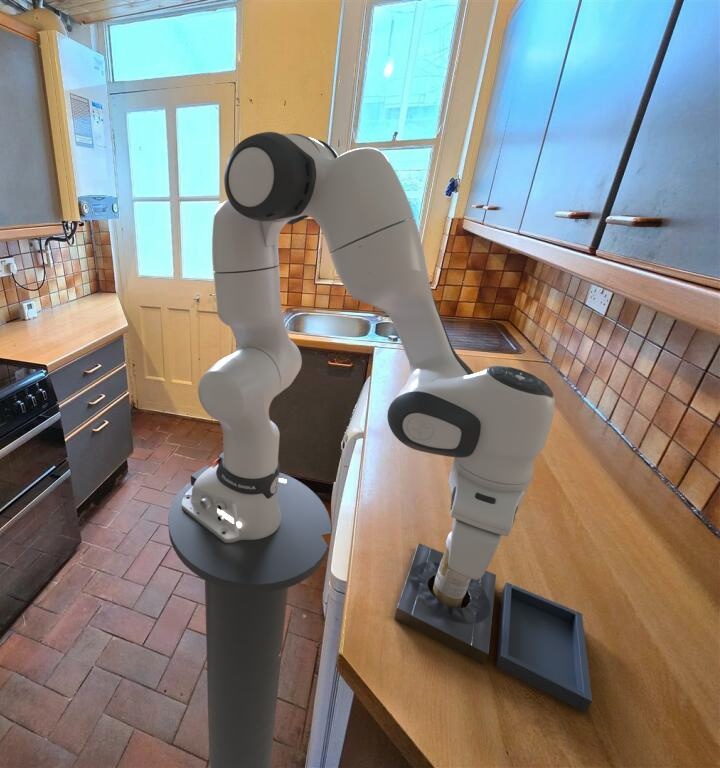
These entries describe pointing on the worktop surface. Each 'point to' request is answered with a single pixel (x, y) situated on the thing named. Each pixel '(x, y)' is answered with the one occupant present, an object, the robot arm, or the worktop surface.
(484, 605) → the drain plate
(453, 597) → the sprinkles bottle
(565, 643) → the basin tray
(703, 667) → the worktop surface
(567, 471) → the worktop surface
